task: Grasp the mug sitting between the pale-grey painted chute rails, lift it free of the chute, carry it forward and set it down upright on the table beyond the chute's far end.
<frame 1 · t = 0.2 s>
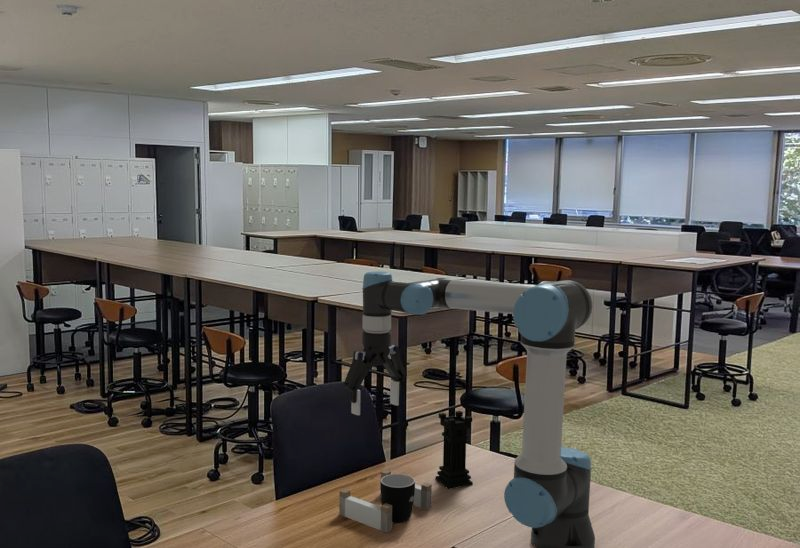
hand: (375, 409, 190), 27 cm above the table, fingers open, 13 cm apart
chute: (385, 510, 190), on the table
mug: (397, 516, 188), on the table
chess piece: (453, 482, 210), on the table
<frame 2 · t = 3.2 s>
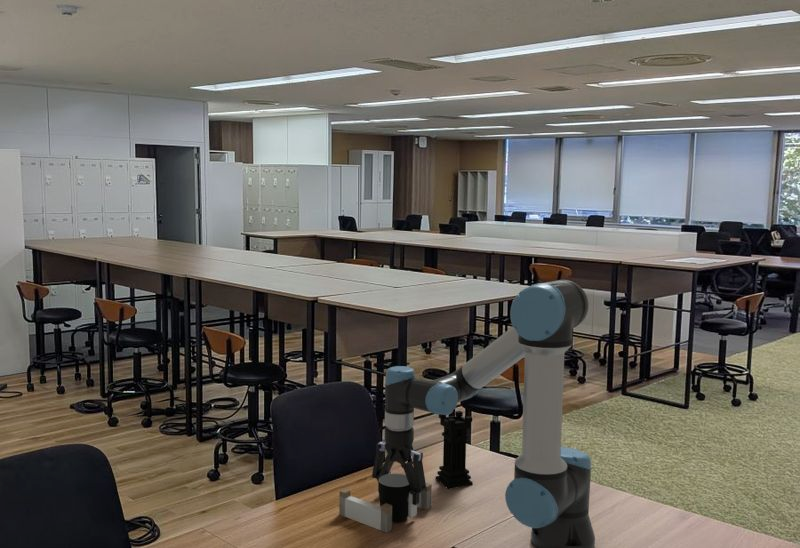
hand: (398, 510, 187), 1 cm above the table, fingers closed on mug, 9 cm apart
mug: (395, 515, 188), on the table, touching gripper
everything else where it was.
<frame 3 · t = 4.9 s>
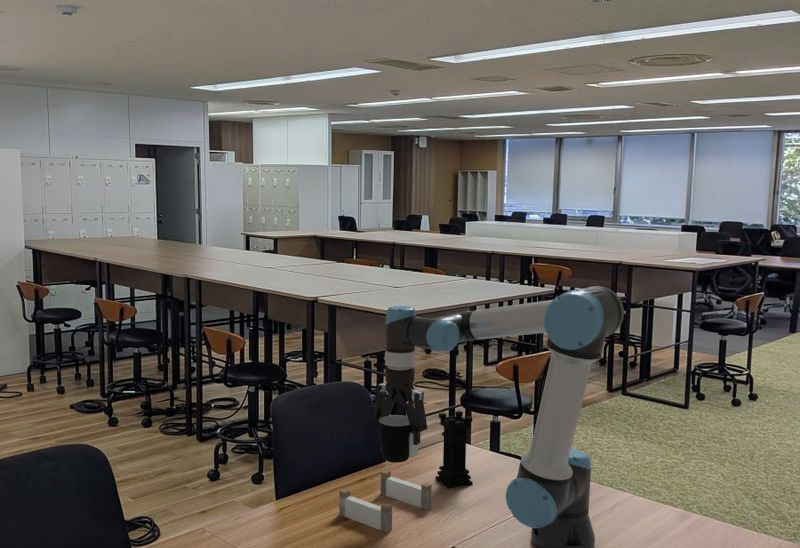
hand: (399, 451, 186), 17 cm above the table, fingers closed on mug, 9 cm apart
mug: (396, 457, 186), point 16 cm above the table, touching gripper
everything else where it was.
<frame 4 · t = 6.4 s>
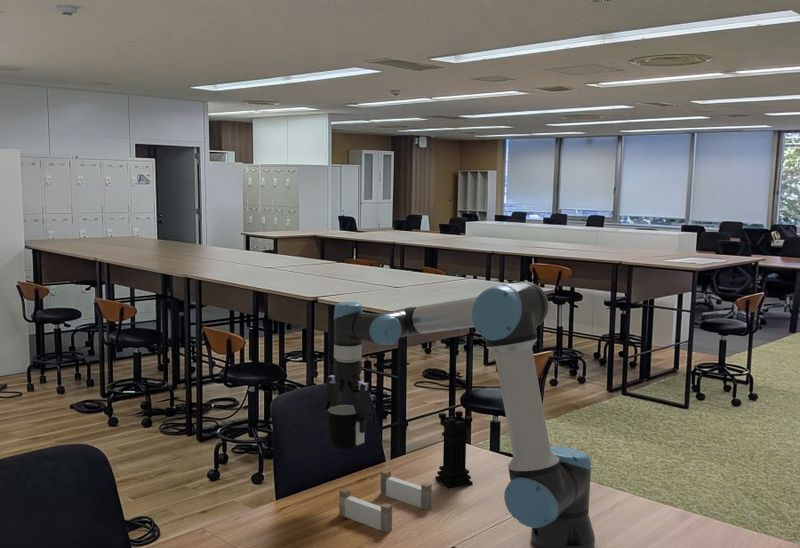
hand: (347, 439, 197), 16 cm above the table, fingers closed on mug, 9 cm apart
mug: (344, 444, 197), point 15 cm above the table, touching gripper
everything else where it was.
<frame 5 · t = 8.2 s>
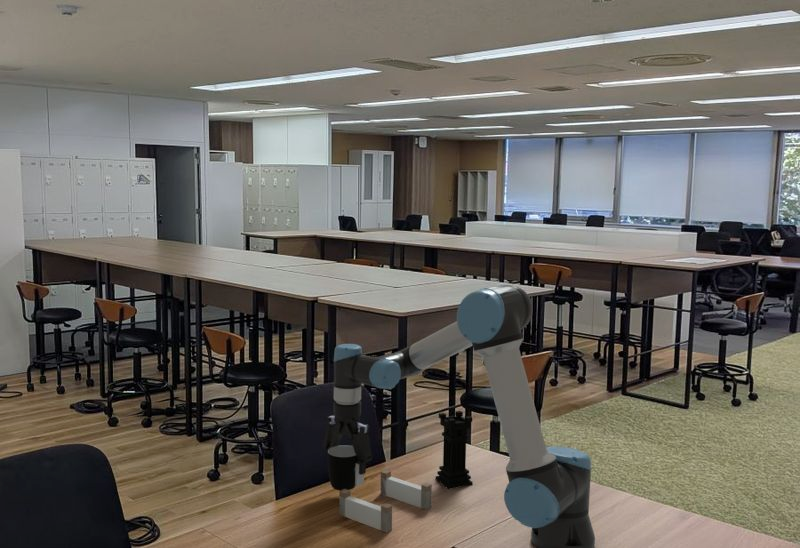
hand: (346, 480, 198), 5 cm above the table, fingers closed on mug, 9 cm apart
mug: (344, 484, 199), point 3 cm above the table, touching gripper
everything else where it was.
when the fingers open (3 cm above the table, at t = 9.6 s): mug drops 2 cm, on the table.
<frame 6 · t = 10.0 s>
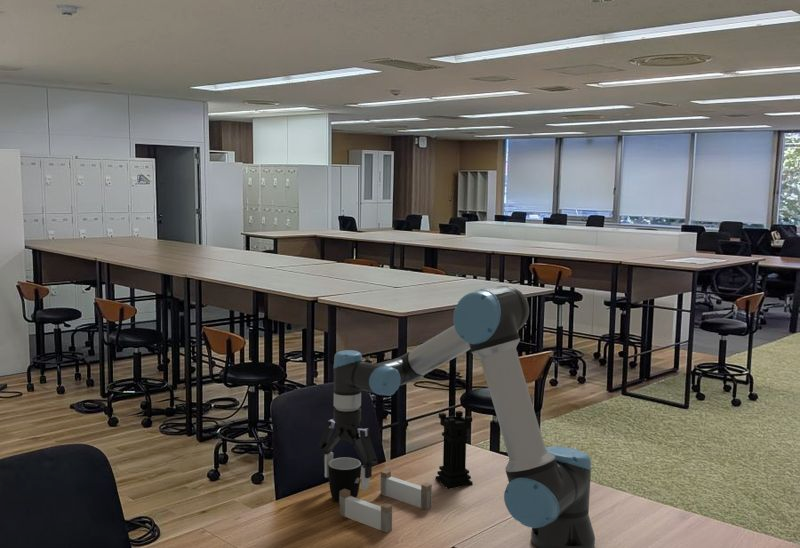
hand: (346, 482, 198), 4 cm above the table, fingers open, 13 cm apart
mug: (345, 497, 199), on the table
everything else where it was.
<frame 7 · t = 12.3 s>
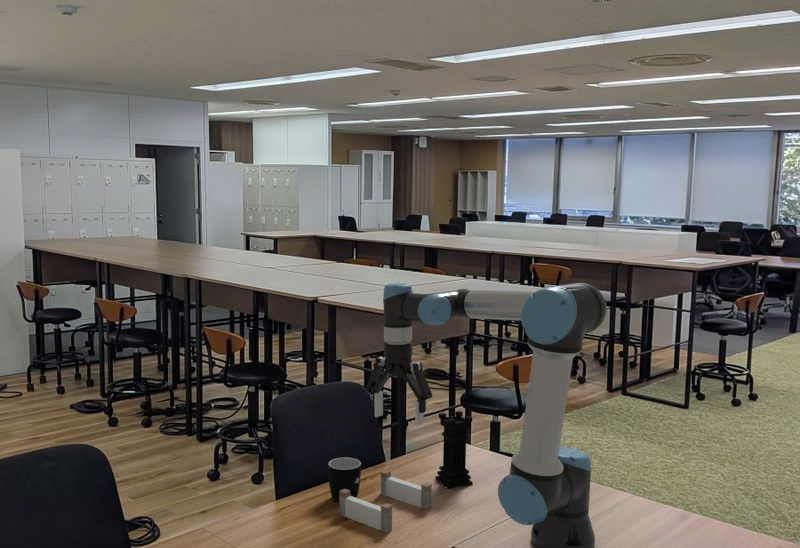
hand: (398, 420, 192), 23 cm above the table, fingers open, 13 cm apart
nothing on the table moved.
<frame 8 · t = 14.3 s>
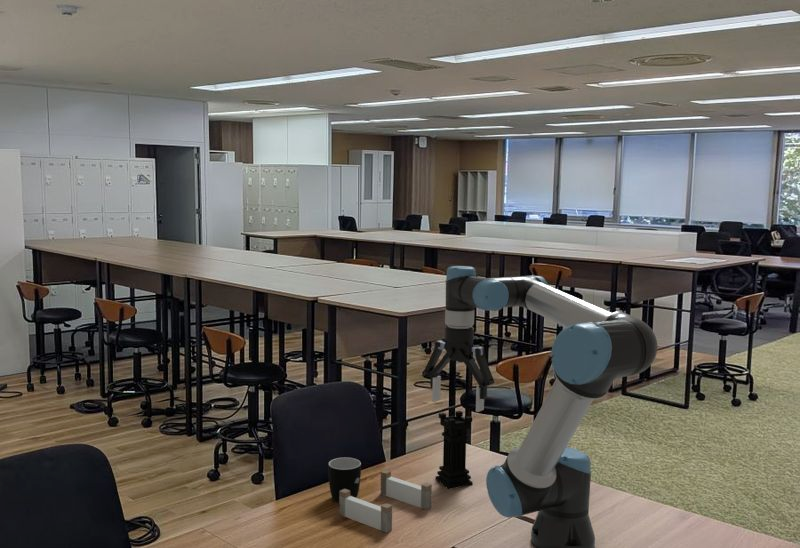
hand: (457, 405, 188), 29 cm above the table, fingers open, 13 cm apart
nothing on the table moved.
at the end: mug inside the target area (0.5 cm from its centre), on the table; mug tilted 0°; the gripper is holding nothing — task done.
